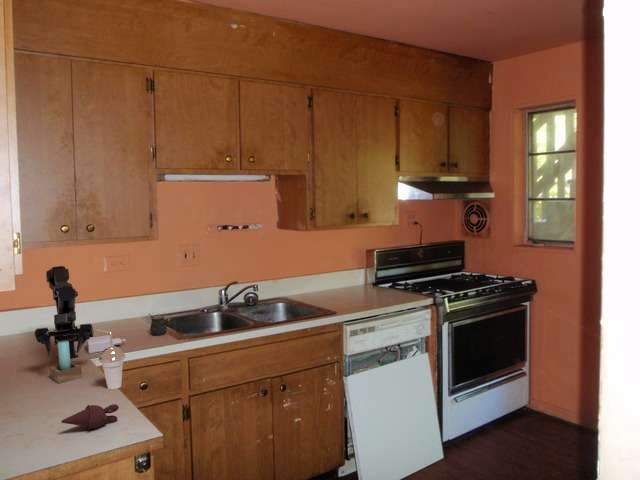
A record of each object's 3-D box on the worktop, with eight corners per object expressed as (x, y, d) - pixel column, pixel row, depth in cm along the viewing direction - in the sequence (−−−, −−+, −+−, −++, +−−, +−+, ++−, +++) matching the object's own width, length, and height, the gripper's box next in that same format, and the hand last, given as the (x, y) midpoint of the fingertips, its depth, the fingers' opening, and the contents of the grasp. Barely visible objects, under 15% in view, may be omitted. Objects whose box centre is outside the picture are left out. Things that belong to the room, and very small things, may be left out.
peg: (59, 377, 198) (56, 342, 196) (69, 375, 200) (66, 340, 199) (62, 380, 195) (59, 344, 193) (73, 377, 197) (70, 342, 196)
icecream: (63, 418, 148) (121, 410, 156) (60, 402, 154) (116, 395, 162) (62, 440, 150) (119, 431, 158) (59, 424, 156) (115, 415, 164)
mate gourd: (167, 335, 247) (165, 313, 245) (149, 337, 245) (147, 315, 243) (167, 331, 254) (165, 310, 252) (150, 333, 252) (148, 311, 250)
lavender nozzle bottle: (127, 348, 231) (89, 354, 224) (124, 342, 239) (86, 348, 232) (127, 337, 230) (88, 343, 223) (123, 332, 238) (85, 337, 231)
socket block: (50, 378, 198) (49, 367, 197) (73, 372, 203) (72, 361, 203) (58, 383, 192) (57, 372, 191) (81, 377, 197) (80, 366, 197)
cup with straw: (110, 393, 182) (105, 333, 179) (94, 387, 187) (90, 329, 185) (132, 385, 189) (128, 327, 186) (117, 379, 194) (113, 324, 192)
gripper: (33, 306, 196) (29, 345, 187) (90, 301, 201) (88, 339, 192) (39, 322, 204) (36, 361, 195) (94, 317, 209) (93, 355, 200)
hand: (63, 354), depth 195 cm, fingers open, 9 cm apart
